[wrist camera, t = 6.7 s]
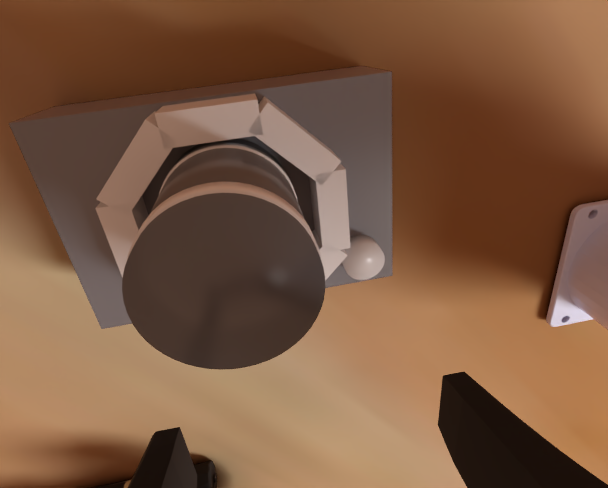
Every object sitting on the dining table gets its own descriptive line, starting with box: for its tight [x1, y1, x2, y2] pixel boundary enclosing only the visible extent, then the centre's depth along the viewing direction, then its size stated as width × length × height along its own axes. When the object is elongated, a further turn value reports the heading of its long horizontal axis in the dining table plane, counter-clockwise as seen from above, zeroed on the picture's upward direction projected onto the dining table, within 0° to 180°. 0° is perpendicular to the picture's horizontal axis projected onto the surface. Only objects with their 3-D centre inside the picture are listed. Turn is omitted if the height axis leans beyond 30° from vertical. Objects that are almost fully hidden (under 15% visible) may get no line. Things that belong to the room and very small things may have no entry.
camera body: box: [9, 66, 392, 329], centre depth 15 cm, size 12×8×5 cm, turn 96°
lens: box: [122, 139, 325, 369], centre depth 11 cm, size 4×4×6 cm
